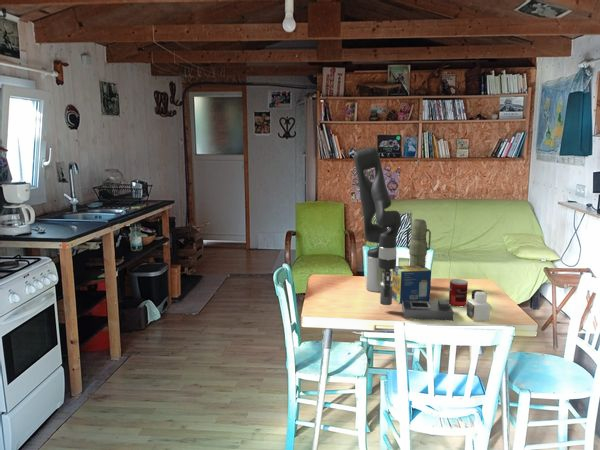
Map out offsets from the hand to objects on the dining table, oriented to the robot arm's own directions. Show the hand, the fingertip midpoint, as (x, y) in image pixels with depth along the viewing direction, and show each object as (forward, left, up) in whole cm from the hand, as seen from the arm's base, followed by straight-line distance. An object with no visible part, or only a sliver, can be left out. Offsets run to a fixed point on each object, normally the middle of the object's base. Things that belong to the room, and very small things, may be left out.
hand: (386, 294), depth 225 cm
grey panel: (+1, +17, -8) cm, 19 cm away
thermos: (-43, +17, -8) cm, 47 cm away
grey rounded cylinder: (0, 0, -4) cm, 4 cm away
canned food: (-16, +33, -8) cm, 38 cm away
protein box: (-20, +12, -8) cm, 25 cm away
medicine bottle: (+3, +38, -8) cm, 39 cm away
